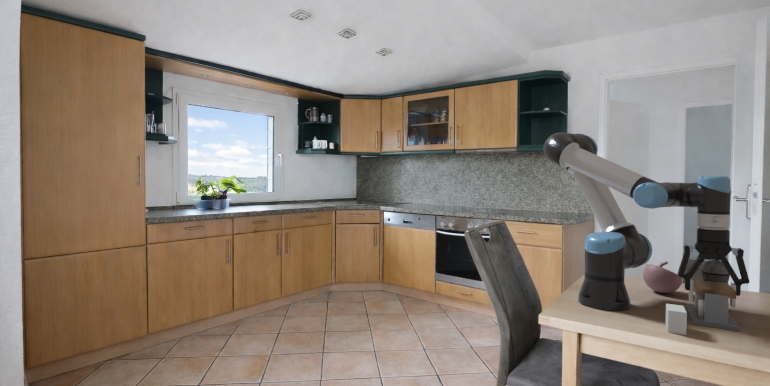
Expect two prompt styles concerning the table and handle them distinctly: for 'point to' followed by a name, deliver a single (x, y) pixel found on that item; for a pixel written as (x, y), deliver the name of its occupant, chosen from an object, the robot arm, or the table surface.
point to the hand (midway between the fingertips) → (711, 303)
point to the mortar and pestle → (661, 278)
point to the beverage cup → (715, 272)
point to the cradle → (712, 312)
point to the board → (713, 288)
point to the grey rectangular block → (676, 319)
